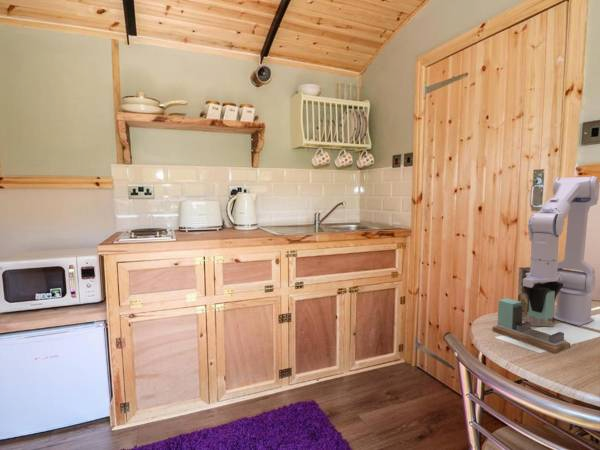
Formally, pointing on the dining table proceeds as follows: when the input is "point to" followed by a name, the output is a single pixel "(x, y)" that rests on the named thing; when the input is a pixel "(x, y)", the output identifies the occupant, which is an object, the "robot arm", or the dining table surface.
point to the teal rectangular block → (544, 307)
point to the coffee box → (524, 301)
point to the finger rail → (525, 328)
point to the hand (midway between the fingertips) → (541, 310)
